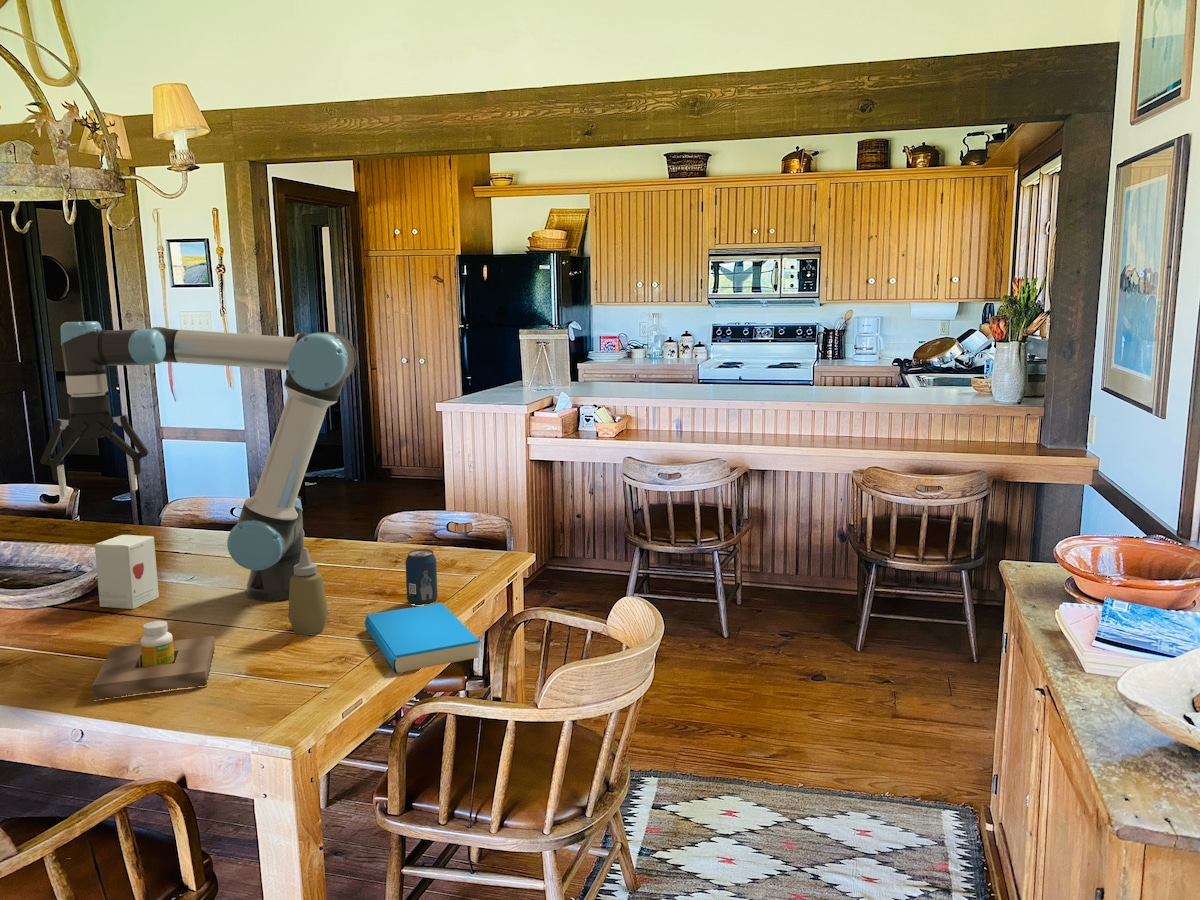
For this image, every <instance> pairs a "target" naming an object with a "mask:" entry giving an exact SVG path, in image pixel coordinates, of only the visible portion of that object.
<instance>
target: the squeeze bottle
mask: <svg viewBox="0 0 1200 900" xmlns="http://www.w3.org/2000/svg"><path fill="white" fill-rule="evenodd" d="M309 553H310V552H309V550H308V547H304V548H302V549H301V554H300V560H299V564H296V565H295V566H294V574H295V575H293V576H292V577H291V578H290V587H289V599H288V612H287V613H288V614H287V617H288V620H289V623H290V625H291V628H292V630H293V632H294V633H295V635H299V636H312V635H315V634H319V633H321V632H323V631H324V629H325V627H326V626H325V625H326V622H327V618H328V614H329V609H328V604H327V603H328V602H327V597H326V590H325V586H324V578H323V575H322V574H321V573H319V572H318V564H317V563H315V562H312V559H311V556H310V554H309ZM311 634H312V635H311Z"/></svg>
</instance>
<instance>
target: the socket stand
mask: <svg viewBox="0 0 1200 900" xmlns="http://www.w3.org/2000/svg"><path fill="white" fill-rule="evenodd" d="M173 647H174V660H175V663H174V664H166V665H157V666H149V667H143V665H142V654H141V643H140V644H133V645H125V646H115V647H111V649H110V651H109V653H108V655H107V657H106V658H105V661H104V663H103V664H102V666H101V668H100V670H99V672H98V674H97V676H96V678H95V679H94V681H93V682H92V685H91V686H92V696H93V701H94V700H99V699H105V698H113V697H121V696H126V695H127V696H128V695H133V694H140V693H148V692H155V691H163V690H169V689H170V690H171V689H177V688H188V687H198V686H205V685H207V686H208V682H207V680H208V681H209V678H208V676H209V677H210V674H209V672H210V673H211V669H212V665H211V663H212V664H213V661H212V659H213V660H214V656H213V654H214V655H215V652H214V650H215V648H216V647H215V636H214V635H212V636H211V635H210V636H203V637H202V636H201V637H196V638H188V639H187V638H186V639H179V640H178V639H177V640H173ZM215 651H216V650H215ZM210 668H211V669H210Z"/></svg>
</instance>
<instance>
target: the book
mask: <svg viewBox="0 0 1200 900" xmlns="http://www.w3.org/2000/svg"><path fill="white" fill-rule="evenodd" d="M364 627H365V629H366V631H367V633H368V634H369V636H370V637H371V638H372V640H373V641H374V643H375V642H376V643H375V644H376V646H377V645H378V646H377V647H378V649H379V648H380V649H379V650H380V652H381V651H382V652H381V653H382V654H384V655H385V656H384V655H383V656H384V658H385V657H386V658H387V659H386V658H385V659H386V661H387V660H388V661H389V662H388V661H387V662H388V663H390V664H391V665H390V666H392V667H391V668H392V669H393V670H394V671H396V673H403V672H410V671H415V670H419V669H420V670H421V669H425V668H429V667H436V666H440V665H441V666H442V665H445V664H446V665H447V664H451V663H457V662H462V661H467V660H473V659H477V658H479V647H478V646H479V643H480V640H479V639H478V638H477V636H476V635H474V633H472V631H471V630H470V629H469V628H468V627H467V626H466V625H465V624H463V622H462V621H461V620H459V618H458V617H457V616H456V615H455V614H454V613H453V612H452V611H451V610H450V609H449V608H448V607H447V606H446V605H445V604H444V603H443V602H438V603H434V604H431V605H424V606H418V607H414V606H412V607H406V608H399V609H395V610H387V611H381V612H376V613H375V612H374V613H369V614H366V617H365V619H364ZM393 666H394V667H393Z"/></svg>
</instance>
